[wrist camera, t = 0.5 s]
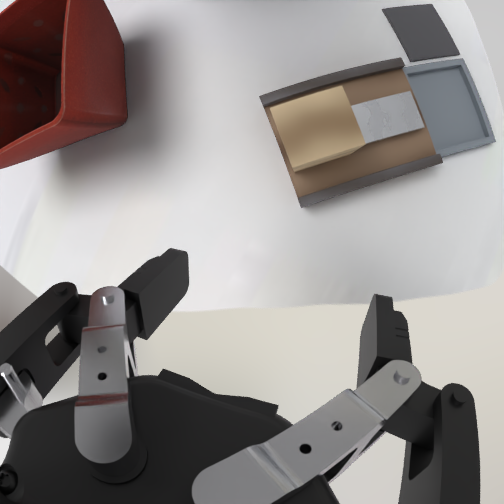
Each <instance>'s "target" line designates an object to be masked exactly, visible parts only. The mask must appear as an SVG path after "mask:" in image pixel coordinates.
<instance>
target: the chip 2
mask: <svg viewBox="0 0 504 504" xmlns="http://www.w3.org/2000/svg"><path fill="white" fill-rule="evenodd" d="M377 101H378V103H379V106H380V108H381V111H382V113H383V115H384V118H385V121H386V123H387V126H388V128H389V131H390V134H391V137H394V136H398V135H401V134H405V133H408V132H412V131H416V130H420V129H422V128H424V124H423V121H422V119H421V116H420V114H419V111H418V109H417V106H416V104H415V101H414V99H413V96H412V94H411V92H410V91H408V92H403V93H399V94H395V95H391V96H387V97H383V98H379V99H377ZM389 138H390V137H389Z"/></svg>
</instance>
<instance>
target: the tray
mask: <svg viewBox="0 0 504 504" xmlns="http://www.w3.org/2000/svg"><path fill="white" fill-rule="evenodd" d="M402 69H403V71H404V73H405V75H406V77H407V80H408V82H409V84H410V86H411V89H412V91H413V93H414V96H415V98H416V100H417V103H418V105H419V108H420V110H421V113H422V115H423V118H424V120H425V123H426V126H427V128H428V131H429V134H430V137H431V140H432V142H433V145H434V148H435V151H436V154H440V155H441V157H444V156H447V155H450V154H454V153H457V152H461V151H464V150H468V149H471V148H475V147H478V146H482V145H486V144H489V143H493V142H496V141H495V138H494V134H493V131H492V128H491V125H490V122H489V120H488V117H487V114H486V111H485V108H484V106H483V103H482V101H481V98H480V96H479V93H478V91H477V88H476V86H475V84H474V81H473V79H472V77H471V74H470V72H469V70H468V68H467V66H466V64H465V61H464V59H463V58H462V59H454V60H446V61H439V62H433V63H427V64H421V65H415V66H410V67H405V68H402Z"/></svg>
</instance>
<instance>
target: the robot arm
mask: <svg viewBox="0 0 504 504" xmlns="http://www.w3.org/2000/svg"><path fill="white" fill-rule="evenodd" d="M188 286H189V266H188V254H187V252H186V251H181V250H177V249H173V248H170V249H168V250H167V251H166V252H165V253H164V254H162V255H161V256H160V257H159V256H157V257H155V258H152V259H150V260H148V261H147V262H145V263H144V264H143V265H142V266H141V268H138V269H137V270H136V271H135V272H134V273H133V274H131V275H130V276H129V277H128V278H127V279H126V280H125V281H123V282H122V283H121V284H120V285H119V286H118V287H114V286H107V287H103V288H100V289H98V290H96V291H95V292H94V293H93V294H92V295H82V294H78V292H77V288H76V286H75V284H73V283H70V282H61V283H58V284H55V285H53V286H52V287H51V288H49V289H48V290H47V291H46V292H45V293H43V294H42V295H41V296H40V297H39V298H38V299H36V300H35V301H34V302H33V303H32V304H31V305H30V306H28V307H27V308H26V309H25V310H24V311H23V312H22V313H21V314H19V315H18V316H17V317H16V318H15V319H14V320H13V321H12V322H11V323H10V324H8V325H7V326H6V327H5V328H4V329H3V330H2V331H1V332H0V436H1V437H4V438H10V439H11V441H10V445H9V449H8V452H7V455H6V457H5V459H4V461H3V463H2V465H1V466H0V504H339V502H338V500H337V498H336V496H335V495H334V493H333V491H332V489H331V488H330V486H329V483H330V482H332V481H333V480H334V479H336V478H337V477H338V476H339V475H340V474H341V473H343V472H344V471H345V470H346V469H347V468H348V467H349V466H350V465H351V464H352V463H353V462H354V461H355V460H356V459H358V457H360V456H361V455H362V454H363V453H364V452H365V451H367V450H368V449H369V448H370V447H371V446H372V445H373V444H374V443H375V442H376V441H377V440H378V439H379V438H380V437H382V435H384V434H385V433H386V432H388V433H390V434H393V435H395V436H397V437H399V438H402V439H404V440H406V448H405V458H404V468H403V476H402V483H401V490H400V497H399V502H398V504H480V457H479V441H478V429H477V419H476V411H475V403H474V398H473V396H472V394H471V392H470V391H469V390H468V389H467V388H466V387H464V386H462V385H460V384H455V383H451V384H448V385H446V386H445V387H444V388H443V389H442V390H439V389H437V388H435V387H432V386H430V385H428V384H426V383H424V382H423V381H422V380H421V374H420V372H419V370H418V369H417V368H416V367H415V366H414V365H412V356H411V347H410V340H409V332H408V324H407V320H406V318H405V317H404V315H403V314H402V312H399V311H394V309H393V300H392V297H388V296H383V295H378V294H374V295H373V298H372V301H371V304H370V307H369V309H368V312H367V315H366V318H365V321H364V324H363V327H362V331H361V336H360V352H359V367H358V378H357V389H356V390H354V391H352V390H351V389H346V390H344V391H343V392H341V393H340V394H339V395H337V396H336V397H334V398H333V399H332V400H330V401H329V402H327V403H326V404H325V405H323V406H322V407H320V408H319V409H317V410H316V411H314V412H313V413H311V414H310V415H308V416H307V417H305V418H304V419H302V420H301V421H299V422H298V423H296V424H294V425H293V424H291V423H290V422H289V421H288V420H286V419H285V418H283V417H281V416H280V415H278V414H276V413H277V409H278V405H275V404H272V403H268V402H263V401H260V400H257V399H253V398H250V397H241V396H230V395H220V394H214V393H212V392H211V391H209V390H207V389H206V388H204V387H202V386H201V385H199V384H198V383H196V382H194V381H193V380H191V379H190V378H187V377H185V376H182V375H179V374H176V373H174V372H171V371H168V370H165V369H163V370H162V371H161V372H160V374H159V375H158V376H155V375H154V376H153V375H142V376H138V370H137V361H136V352H135V344H134V339H135V338H136V337H140V338H142V339H145V340H147V339H148V338H149V337H150V336H151V335H152V334H153V332H154V331H155V330H156V329H157V327H158V326H159V325H160V324H161V323H162V322H163V320H164V319H165V318H166V317H167V316H168V315H169V313H170V312H171V311H172V310H173V309H174V307H175V306H176V305H177V304H178V303H179V301H180V300H181V299H182V298H183V297H184V296H185V294H186V292H187V290H188ZM56 325H58V328H59V331H60V333H58V335H57V336H55V337H54V339H53V340H52V341H51V342H50V343H49V344H48V345H47V346H46V345H45V338H46V335H47V334H48V333H49V331H51V330H52V329H53V328H54V326H56ZM79 356H80V367H79V395H77V396H74V397H71V398H67V399H64V400H61V401H58V402H54V403H51V404H48V405H44V406H42V403H43V399H44V398H45V397H46V395H47V394H48V393H49V392H50V390H51V389H52V388H53V387H54V386H55V384H56V383H57V382H58V381H59V379H60V378H61V377H62V376H63V374H64V373H65V372H66V371H67V370H68V369H69V367H70V366H71V365H72V364H73V363H74V362H75V360H76V359H77V358H78V357H79Z"/></svg>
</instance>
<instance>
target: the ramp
mask: <svg viewBox="0 0 504 504" xmlns="http://www.w3.org/2000/svg"><path fill="white" fill-rule="evenodd" d="M404 66H405V65H404V62H403V60H402V58H396V59H390V60H386V61H381V62H376V63H371V64H367V65H363V66H359V67H354V68H350V69H346V70H342V71H339V72H335V73H331V74H328V75H324V76H321V77H317V78H314V79H310V80H307V81H304V82H300V83H297V84H294V85H291V86H288V87H285V88H282V89H279V90H276V91H273V92H270V93H267V94H264V95H262V96H259V97H260V100H261V102H262V104H263V107H264V109H265V112H266V114H267V117H268V119H269V122H270V124H271V127H272V129H273V132H274V135H275V137H276V140H277V142H278V145H279V148H280V150H281V153H282V156H283V158H284V161H285V164H286V166H287V169H288V172H289V175H290V177H291V180H292V183H293V186H294V189H295V191H296V194H297V197H298V200H299V203H300V206H301V208H302V207H305V206H308V205H311V204H314V203H317V202H320V201H323V200H326V199H330V198H333V197H336V196H339V195H342V194H345V193H348V192H351V191H354V190H357V189H360V188H363V187H366V186H370V185H373V184H376V183H379V182H382V181H385V180H388V179H392V178H395V177H398V176H401V175H404V174H408V173H411V172H414V171H417V170H421V169H424V168H427V167H430V166H434V165H437V164H440V163H443V161H442V158H441V155H440V154H436V151H435V148H434V145H433V142H432V140H431V137H430V134H429V131H428V128H427V126H426V123H425V120H424V118H423V115H422V113H421V110H420V108H419V105H418V103H417V100H416V98H415V96H414V93H413V91H412V89H411V86H410V84H409V82H408V80H407V77H406V75H405V73H404V71H403V69H402V68H403V67H404ZM338 86H342V87H343V89H344V91H345V93H346V96H347V98H348V100H349V103H350V105H351V106H352V105H356V104H360V103H363V102H367V101H371V100H375V99H379V98H383V97H387V96H391V95H395V94H399V93H403V92H408V91H410V92H411V94H412V96H413V99H414V101H415V104H416V106H417V109H418V111H419V114H420V116H421V119H422V121H423V124H424V128H422V129H420V130H416V131H412V132H408V133H405V134H401V135H398V136H394V137H390V138H387V139H383V140H380V141H376V142H373V143H370V144H366V145H364V146H362V147H361V148H359V149H358V150H356V151H355V152H353V153H352V154H350V155H347V156H344V157H341V158H338V159H335V160H331V161H328V162H325V163H322V164H319V165H316V166H313V167H310V168H307V169H304V170H301V171H298V172H295V173H294V171H293V168H292V166H291V163H290V160H289V157H288V155H287V152H286V149H285V147H284V144H283V142H282V139H281V136H280V134H279V131H278V129H277V126H276V123H275V121H274V118H273V116H272V113H271V111H270V108H271V107H274V106H277V105H280V104H283V103H286V102H289V101H292V100H295V99H298V98H301V97H304V96H307V95H311V94H314V93H317V92H321V91H324V90H327V89H331V88H334V87H338Z"/></svg>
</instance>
